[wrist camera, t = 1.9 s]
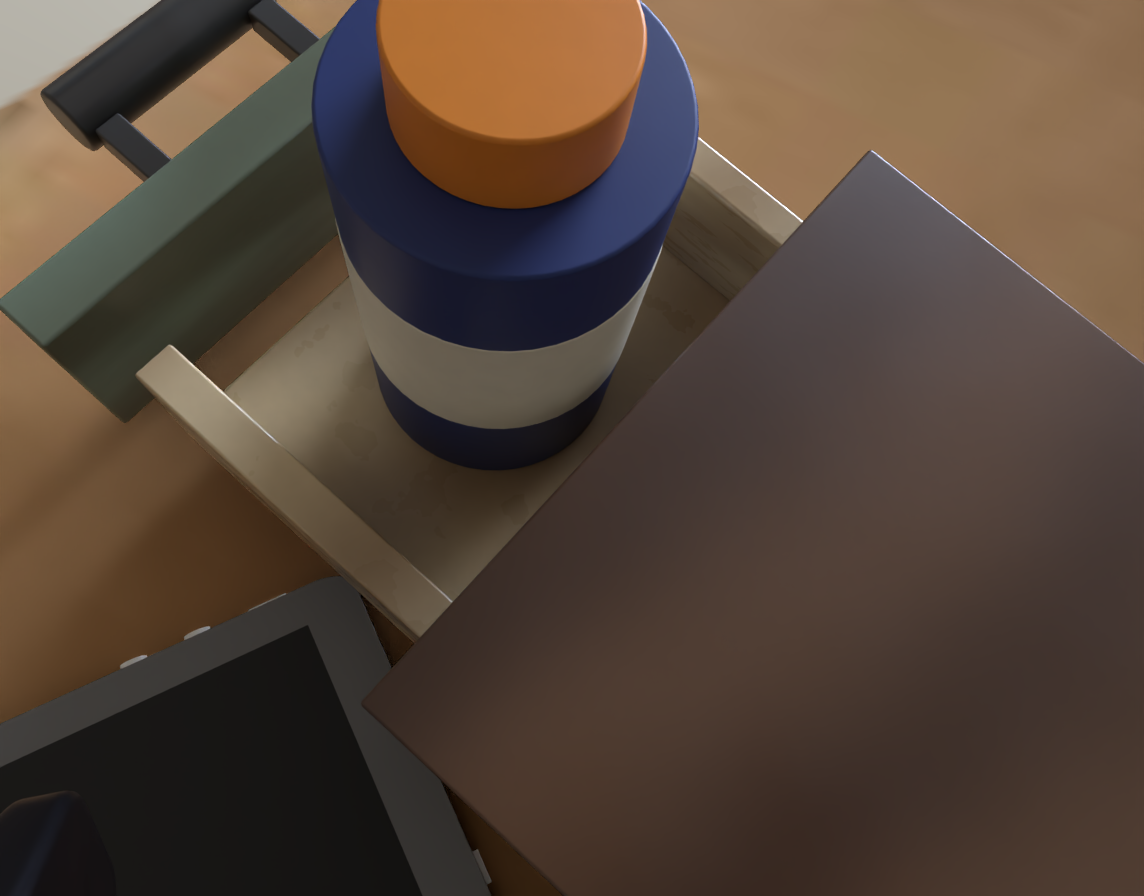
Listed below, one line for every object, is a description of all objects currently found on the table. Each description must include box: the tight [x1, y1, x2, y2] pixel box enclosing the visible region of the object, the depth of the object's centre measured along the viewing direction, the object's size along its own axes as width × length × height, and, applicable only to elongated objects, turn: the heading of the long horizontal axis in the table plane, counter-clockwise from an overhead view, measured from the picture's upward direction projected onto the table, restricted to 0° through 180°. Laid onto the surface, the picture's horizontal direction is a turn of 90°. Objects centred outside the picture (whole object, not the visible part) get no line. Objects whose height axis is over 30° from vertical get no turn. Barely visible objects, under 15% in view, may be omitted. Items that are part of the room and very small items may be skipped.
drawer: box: [0, 0, 803, 643], centre depth 20 cm, size 16×12×4 cm
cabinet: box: [361, 150, 1144, 896], centre depth 18 cm, size 14×13×6 cm
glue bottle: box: [311, 0, 699, 470], centre depth 16 cm, size 5×5×10 cm
